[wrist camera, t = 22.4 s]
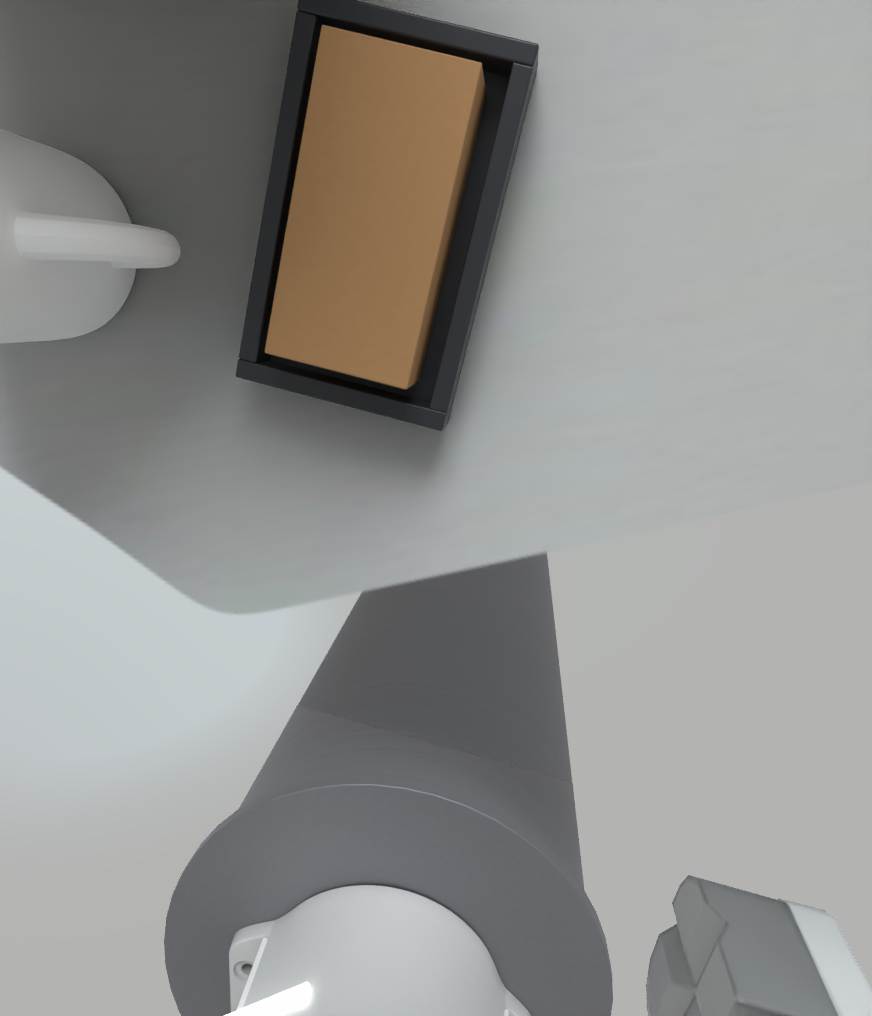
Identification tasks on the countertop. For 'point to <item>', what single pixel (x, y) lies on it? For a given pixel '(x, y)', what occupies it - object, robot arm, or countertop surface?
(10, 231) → the mug
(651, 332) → the countertop surface
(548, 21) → the countertop surface
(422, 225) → the pad
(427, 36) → the pad base
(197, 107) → the countertop surface
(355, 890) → the robot arm
